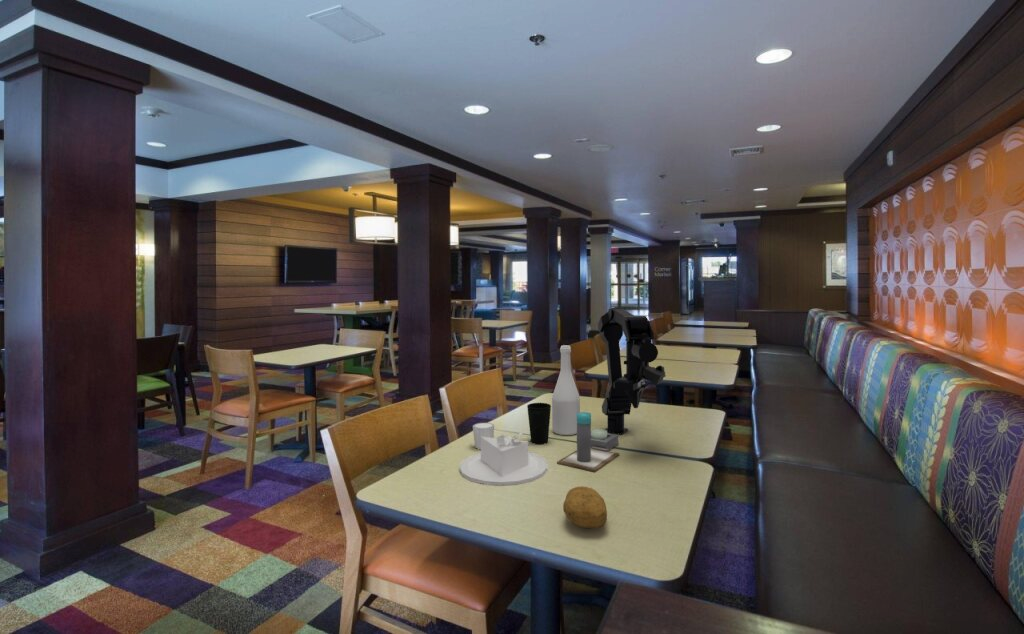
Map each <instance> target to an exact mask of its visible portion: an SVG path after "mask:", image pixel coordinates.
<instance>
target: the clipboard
mask: <svg viewBox="0 0 1024 634" xmlns="http://www.w3.org/2000/svg"><path fill="white" fill-rule="evenodd" d="M619 456H620V453H619V452H614V451H610V450H609V451H608V449H604V448H599V447H594V446H593V447H591V461H590V462H579V461H577V449H576V450H574V451H573V452H572V453H570V454H567V455H566V456H565V457H562V458H560V459H559V460H558V461H557V462H556V464H557V465H560V466H561V465H562V466H566V467H570V468H573V469H574V468H575V469H577V470H578V469H579V470H583V471H587V472H592V473H596V472H598V471H599V470H601V469H602V468H603V467H605V466H606V465H607V464H609V463H610V462H612V461H614V459H616V458H617V457H619Z"/></svg>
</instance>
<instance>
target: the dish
mask: <svg viewBox="0 0 1024 634" xmlns="http://www.w3.org/2000/svg"><path fill="white" fill-rule="evenodd" d="M522 436H524V433H522V432H519V433H517V434H516V435H514V437H510V436H509V435H503V434H499V436H498V437H493V438H490V437H481V450H480V452H477V453H474V454H472V455H469V456H467V457H465V458H464V459H463V460H461V462H460V464H459V467H458V468H459V469H458V470H459V473H460V472H461V473H460V474H461V476H462V477H463V476H464V477H463V478H464V479H466V478H467V480H468V481H470V482H474V483H476V482H477V484H480V483H481V484H480V485H484V484H486V485H487V484H488V485H487V486H497V485H499V487H502V486H518V485H522V484H527V483H531V482H534V481H536V480H539V479H541V478H542V477H544V476H545V474H546V473H548V461H547V460H546V459H545V458H544V457H543V456H541V455H539V454H536V453H535V452H534V453H533V452H530V451H529V441H525V440H517V439H518V438H520V437H522Z"/></svg>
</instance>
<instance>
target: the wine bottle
mask: <svg viewBox="0 0 1024 634" xmlns="http://www.w3.org/2000/svg"><path fill="white" fill-rule="evenodd" d="M559 352H560V370H559V375H558V377H557V382H556V384H555V388H554V390H553V393H552V397H551V415H552V416H551V418H552V421H551V423H552V424H551V425H552V427H551V428H552V431H553V433H555V434H557V435H561V436H572V435H573V436H575V435H577V413H579V412H581V399H580V394H579V391H578V389H577V385H576V383H575V379H574V376H573V374H572V367H571V362H572V361H571V353H572V348H571V345H565V344H563V345H561V346H560V348H559Z"/></svg>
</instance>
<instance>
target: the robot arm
mask: <svg viewBox="0 0 1024 634" xmlns="http://www.w3.org/2000/svg"><path fill="white" fill-rule="evenodd" d="M597 330H598V332H599V336H600V339H601V340H602V341H603V343H604V345H605V349H606V350H605V353H606V364H607V372H608V373H607V375H608V384H609V385H608V388H607V389H606V391H605V398H604V400H603V402H602V405H601V411H602V414H603V415H604V416H606V418H607V423H606V424H607V427H606V428H605V429H604V428H603V429H604V430H606V431H607V433H610V434H615V435H622V434H624V433H626V432H627V431H628V430H629V428H627V427H625V415H631V409H632V407H633V408H634V409H638V408H639V406H640V402H641V398H642V395H643V393H644V390H645V389H647V388H648V387H649V386H650V384H647V383H646V382H645V380H646V381H649V382H650V383H652V384H653V385H656V386H657V385H659V384H662V383H663V380H664V378H666V372H665V367H664V366H662V365H658V366H656V367H655V366H650V363H652V362H654V361H655V360H656V359H657V358H658V355H659V350H658V348H657V346H656V345H655V343H652V340H654V339H655V338H654V335H655V333H654V330H653V328H652V325H651V322H650V320H649V319H648V317H647V316H645V315H634V314H632V313H631V312H629V311H627V310H626V309H625V308H623V307H611V308H609V309H608V310H607V312H605V313H604V314H603V315H601V316H600V318H599V321H598V323H597ZM623 335H624V338H625V343H626V344H625V345H626V346H625V347H626V349H625V353H626V355H625V356H626V359H625V360H624V361H623V365H626V368H625V373H624V374H623V370H622V362H621V361H622V360H621V349H620V341H621V339H622V338H623Z"/></svg>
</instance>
